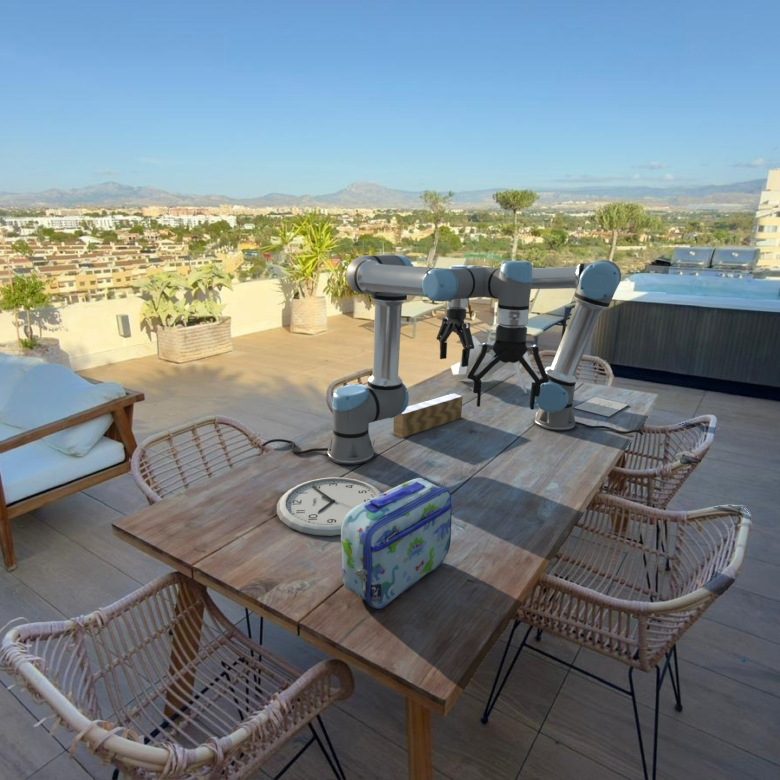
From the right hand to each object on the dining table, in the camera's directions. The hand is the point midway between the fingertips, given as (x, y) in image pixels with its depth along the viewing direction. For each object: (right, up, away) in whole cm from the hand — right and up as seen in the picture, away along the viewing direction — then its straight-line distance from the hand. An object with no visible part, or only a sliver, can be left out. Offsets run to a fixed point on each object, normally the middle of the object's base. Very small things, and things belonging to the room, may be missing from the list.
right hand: (453, 362), depth 203 cm
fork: (-12, -42, -57) cm, 72 cm away
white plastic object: (+24, -9, +49) cm, 55 cm away
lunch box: (-23, -52, -90) cm, 106 cm away
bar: (-10, -24, -1) cm, 26 cm away
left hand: (+5, -15, -67) cm, 69 cm away
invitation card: (+67, -18, +24) cm, 73 cm away
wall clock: (-40, -42, -60) cm, 84 cm away
